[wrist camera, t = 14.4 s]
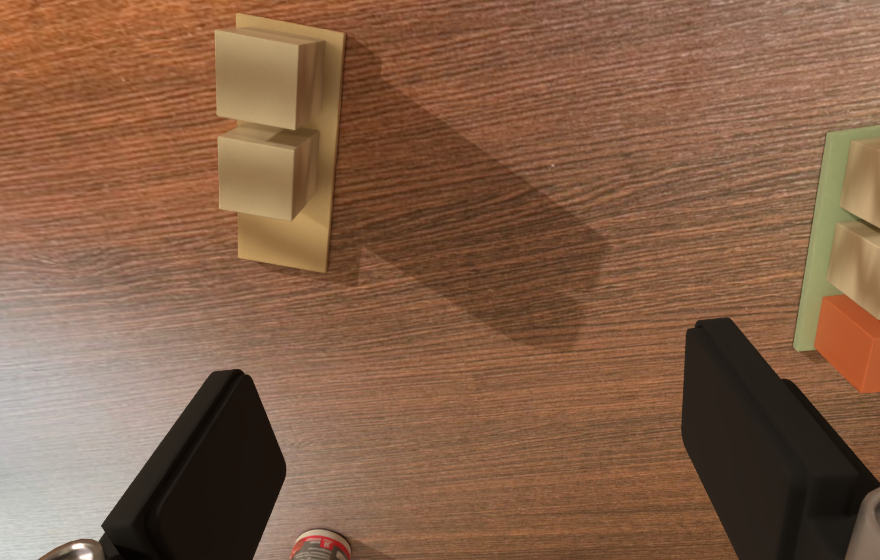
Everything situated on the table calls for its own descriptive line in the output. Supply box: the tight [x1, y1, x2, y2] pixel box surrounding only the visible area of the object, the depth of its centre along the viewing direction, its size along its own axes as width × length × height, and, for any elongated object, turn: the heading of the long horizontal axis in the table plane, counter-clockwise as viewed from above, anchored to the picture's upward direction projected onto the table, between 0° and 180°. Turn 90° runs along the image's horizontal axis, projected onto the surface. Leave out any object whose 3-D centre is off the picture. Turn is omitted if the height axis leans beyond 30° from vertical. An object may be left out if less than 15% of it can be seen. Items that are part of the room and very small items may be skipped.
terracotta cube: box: [814, 294, 880, 393], centre depth 33 cm, size 4×4×5 cm
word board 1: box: [215, 13, 346, 273], centre depth 30 cm, size 15×6×6 cm, turn 170°
